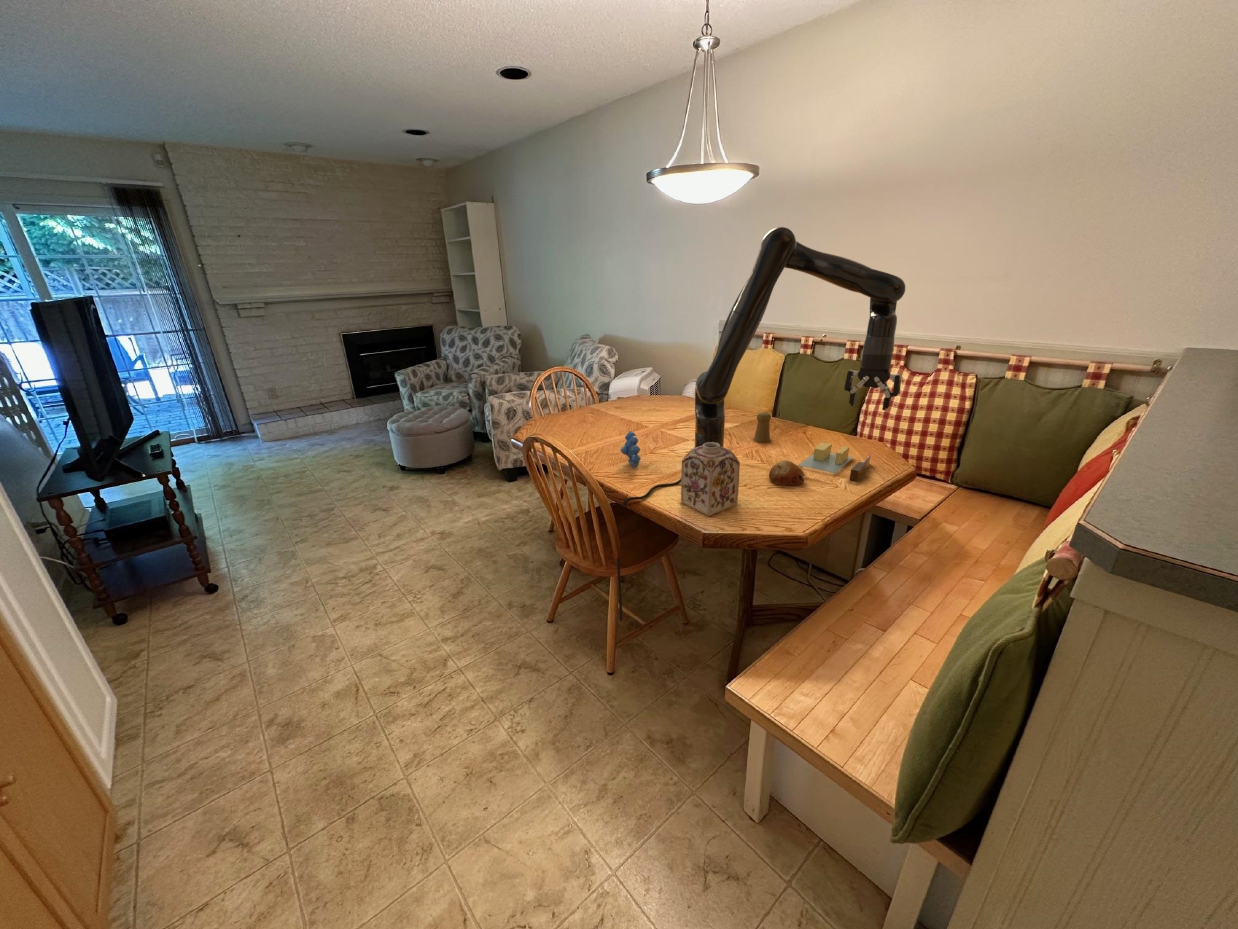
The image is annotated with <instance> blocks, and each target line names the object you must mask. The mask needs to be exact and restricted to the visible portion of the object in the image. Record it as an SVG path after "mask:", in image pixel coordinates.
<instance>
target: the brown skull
mask: <svg viewBox="0 0 1238 929" xmlns="http://www.w3.org/2000/svg"><path fill="white" fill-rule="evenodd" d="M805 476H806V474H805V473H804V470H802V469H801V467H800V466H799V465H797V464H795V463H794V462H793V461H790V460H782V461H781V460H780V461H778V462H776V463H775V464H774V465H772V467H771V468H770V470H769V472H768V479H769V480H770V482H772V483H773V484H775V485H778V486H785V487H796V486H798V485H800V484H802V482H805V478H804V477H805Z"/></svg>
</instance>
